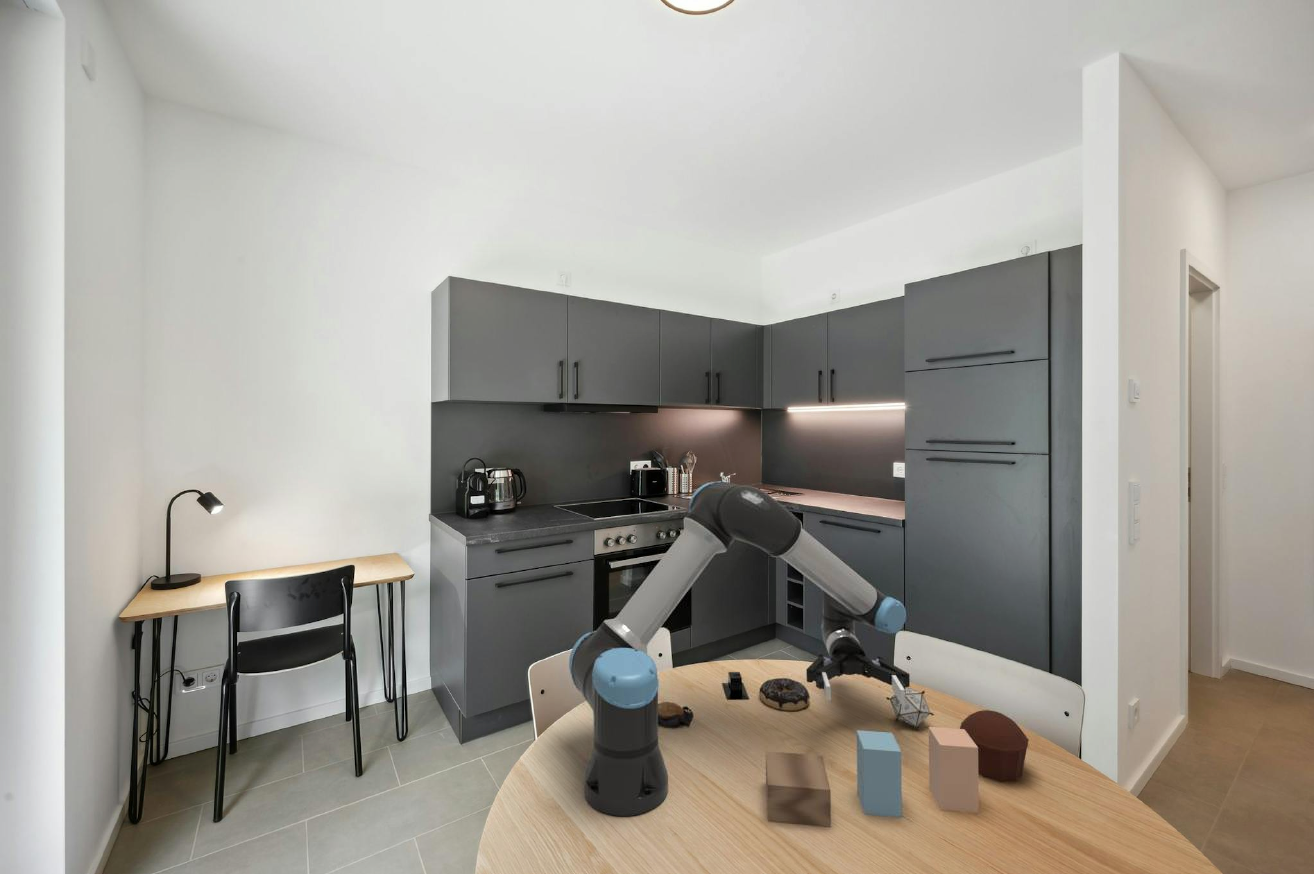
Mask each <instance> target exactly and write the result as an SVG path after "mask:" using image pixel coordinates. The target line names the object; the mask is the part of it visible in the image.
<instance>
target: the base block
mask: <svg viewBox="0 0 1314 874" xmlns="http://www.w3.org/2000/svg"><path fill="white" fill-rule="evenodd" d="M765 788H766V789H765V790H766V805H767V807H766V809H767V821H768V822H777V823H788V824H796V825H798V824H800V825H809V826H819V827H830V828H831V827H832V823H831V822H832V818H831V817H832V814H831V813H832V811H831V810H832V809H831V807H832V806H831V802H832V801H831V800H832V799H831V796H832V795H831V786H830V782H829V778H828V774H827V770H826V765H825V761H824V758H823V755H822V754H821V755H820V754H807V753H795V752H783V751H782V752H781V751H769V750H766V751H765Z"/></svg>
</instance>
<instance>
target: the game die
mask: <svg viewBox="0 0 1314 874" xmlns="http://www.w3.org/2000/svg"><path fill="white" fill-rule="evenodd" d="M925 692H926V690H922V691H921V692H920V691H917V690H915V689H912V688H910V687H906V693H905V704H901V703H900V702H899V700H898V698H897V696H896V695H895V694H893V696H891V697H888V696H887V697H885V699H886V700H887V701H890V704H891V706H892V709H893V711H894V714H895V716H896V718H895V719H894V721H895V722H898V721H901V722H903V723H906V724H907V725H910V726H912V727H914V729H915V731H917V732H919V731H918V730H919V728H918V726H919V725H920V724H922V723H923V721H925V720H926V718H928V716H930V715H931V716H935V714H934V712H931V711H930V709H929V706H928V703H927V701H926V698H925V696H924V695H925Z"/></svg>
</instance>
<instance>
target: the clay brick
mask: <svg viewBox="0 0 1314 874" xmlns="http://www.w3.org/2000/svg"><path fill="white" fill-rule="evenodd" d="M928 778H929V779H928V782H929V783H928V784H929V785H928V786H929V787H928V788H929V790H930V793H931V794H932V796H933V798H934V799H935V800H934V801H935V802H936V804H937V805H938V807H939V809H940V811H941V810H942V811H951V812H962V813H975V814H979V813H980V811H979V806H980V803H979V801H980V799H979V794H980V793H979V773H978V747H977V746H976V744H975V743H974V742H973V740H972V739H971V738H970V736H969V735H968V734H967V732H966V731H965V729H960V728H951V727H950V728H949V727H934V726H928Z"/></svg>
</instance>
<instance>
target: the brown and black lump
mask: <svg viewBox="0 0 1314 874" xmlns="http://www.w3.org/2000/svg"><path fill="white" fill-rule="evenodd" d="M693 718H694V713H693V711H692V709H691V708H689V707H688V706H687V705H686V706H682V707H681V706H680V705H678V704H677V703H674V702H672V701H663V702H660V703H658V728H672V729H682V728H684V727H688V728H690V726H691V722H692V721H693Z"/></svg>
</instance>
